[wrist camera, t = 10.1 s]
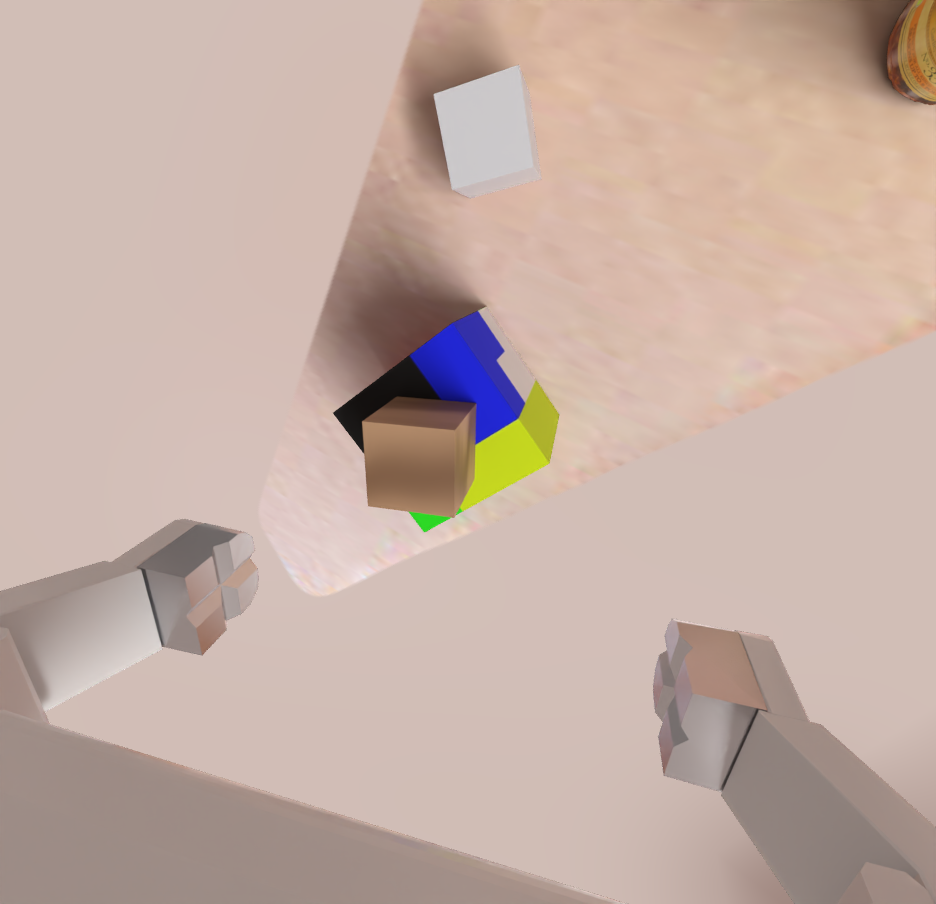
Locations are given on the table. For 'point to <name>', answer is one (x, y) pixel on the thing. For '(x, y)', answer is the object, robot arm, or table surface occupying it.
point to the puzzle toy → (475, 381)
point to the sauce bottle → (914, 52)
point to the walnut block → (420, 455)
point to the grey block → (489, 133)
